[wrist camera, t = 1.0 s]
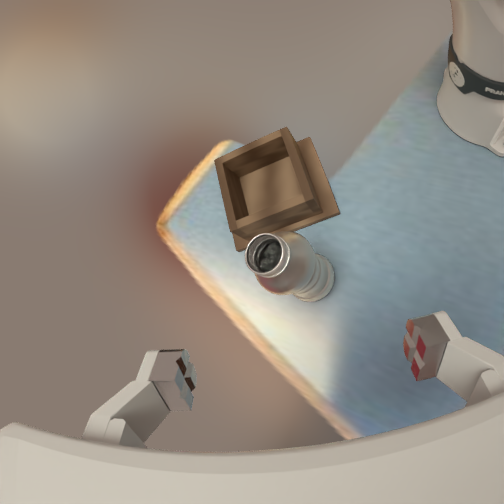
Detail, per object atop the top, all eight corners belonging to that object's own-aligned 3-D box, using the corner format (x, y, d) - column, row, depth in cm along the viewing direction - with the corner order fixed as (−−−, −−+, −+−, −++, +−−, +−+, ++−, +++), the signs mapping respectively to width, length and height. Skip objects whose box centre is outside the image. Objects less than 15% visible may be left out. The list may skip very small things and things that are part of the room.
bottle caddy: (311, 139, 50) (299, 116, 43) (340, 214, 45) (332, 197, 39) (222, 178, 55) (201, 162, 49) (239, 252, 51) (217, 242, 45)
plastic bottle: (285, 288, 47) (216, 269, 29) (308, 248, 46) (254, 204, 29) (321, 311, 44) (273, 307, 26) (345, 270, 44) (315, 236, 26)
